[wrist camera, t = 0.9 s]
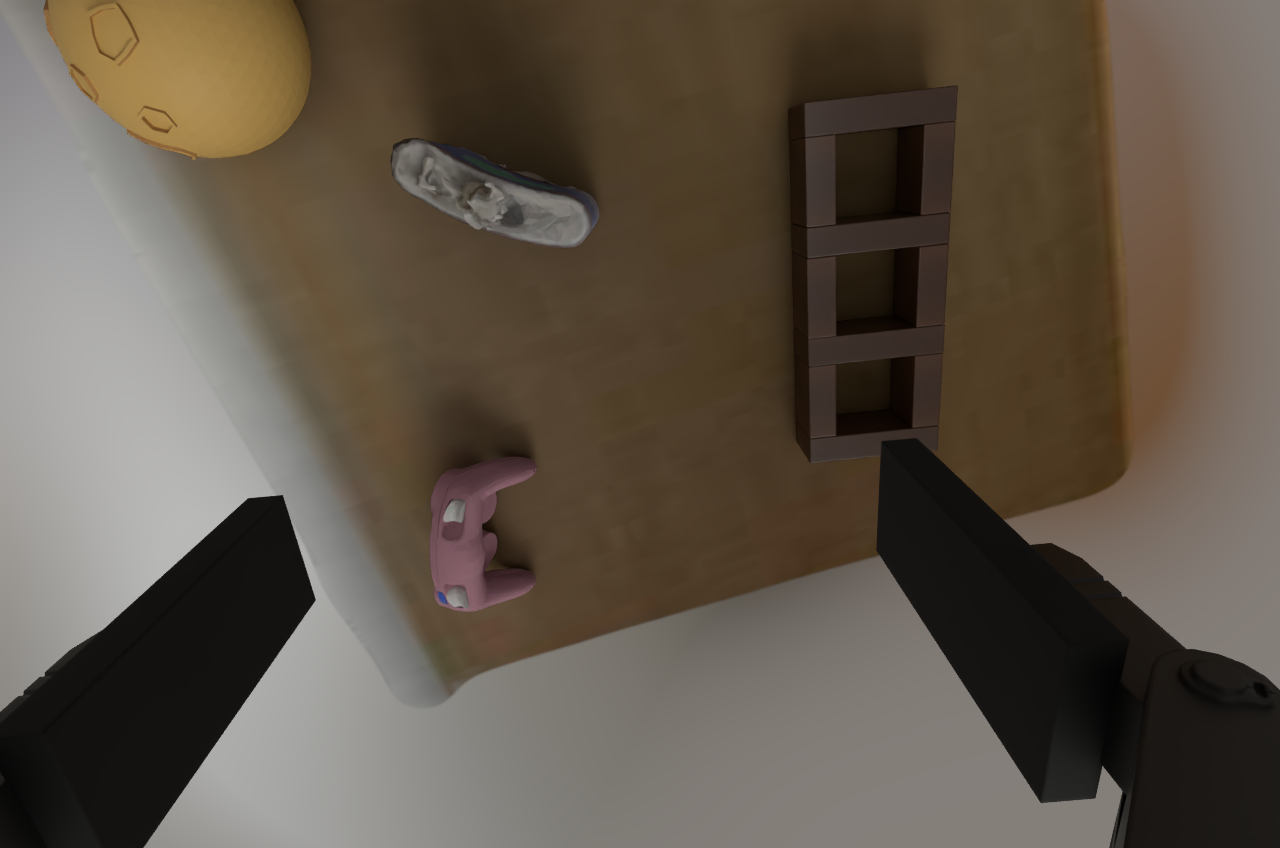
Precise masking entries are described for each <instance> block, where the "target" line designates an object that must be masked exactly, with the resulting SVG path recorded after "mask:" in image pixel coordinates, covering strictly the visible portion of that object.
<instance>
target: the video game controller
mask: <svg viewBox="0 0 1280 848" xmlns="http://www.w3.org/2000/svg"><path fill="white" fill-rule="evenodd" d="M536 470H537V465H536V463H535V462H534V461H532V460H531V459H528V458H526V457H503V458H495V459H491V460H486V461H483V462H480V463H477V464H474V465H472V466H469V467H466V468H463V469H457V468H453V469H450V470H448V471H446V472H445V473H444V474H443V475H442V476H441V477H440V478H439V480H438V481H437V483H436V485H435V488H434V490H433V493H432V497H431V511H432V515H433V519H432V525H431V534H430V563H431V572H432V577H433V582H434V585H435V586H434V595H435V599H436V601H437V603H438V604H439V605H441V606H444V607H448V608H451V609H453V610H457V611H477V610H480V609H483V608H486V607H489V606H492V605H495V604H498V603H501V602H504V601H507V600H510V599H513V598H516V597H519V596H521V595H524V594H525V593H527V592H528V591H529V590H531V589H532V588H533V587H534V585H535V582H536V577H535V575H534V574H533V573H531V572H530V571H527V570H524V569H516V568H509V569H499V570H492V571H487V572H485V569H486V567H487V566H488V564H489V563H490V561H491V560H492V558H493V557H494V555H495V553H496V550H497V537H496V535H495V534H494V533H491V532H488V531H485V530H482V524H483V523H485V522H487V521H488V520H489V519H490V518H491V517H492V515H493V514H494V511H495V508H496V502H497V497H496V493H495V492H496V491H498V490H500V489H503V488H505V487H508V486H511V485H514V484H517V483H520V482H523V481H525V480H527V479H528V478H530V477H531V476H532V475H533V474H534V473H535V472H536Z"/></svg>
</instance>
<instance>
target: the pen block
mask: <svg viewBox="0 0 1280 848" xmlns="http://www.w3.org/2000/svg"><path fill="white" fill-rule="evenodd" d="M957 91H958V86H948V87H939V88H930V89H921V90H912V91H903V92H894V93H885V94H876V95H867V96H858V97H849V98H840V99H831V100H822V101H813V102H805V103H802V104H800V105H797V106H794V107H792V108H789V109H788V114H789V140H790V141H789V152H790V194H791V223H792V224H791V232H792V251H793V252H792V278H793V320H794V352H795V353H794V358H795V400H796V441H797V443H798V444H799V446H800V448H801V449H802V451H803V452H804V454H805V455H806V457H807V459H808V460H809V462H810V463H817V462H827V461H837V460H847V459H856V458H866V457H876V456H881V441H888V440H899V439H910V438H917V439H918V440H919V441H920V442H922V443H923V444H924V445H925V446H926V447H927V448H928V449H929V450H930V451H934V450H937V449H938V431H939V426H938V425H939V412H940V394H941V376H942V358H943V354H942V353H943V346H944V327H945V325H943V324H944V321H945V303H946V285H947V267H948V249H949V245H948V244H947V243H949V230H950V213H949V212H950V211H951V195H952V177H953V159H954V141H955V120H956V109H957ZM896 128H899V130H898V165H897V201H896V211H897V212H890V213H881V214H872V215H862V216H853V217H844V218H836V135H842V134H851V133H860V132H869V131H878V130H887V129H896ZM891 249H895V274H894V309H893V314H894V315H893V316H884V317H874V318H865V319H856V320H846V321H837V322H836V256H835V255H844V254H854V253H863V252H872V251H881V250H891ZM887 358H892V381H891V409H889V410H880V411H870V412H860V413H851V414H841V415H836V364H839V363H848V362H858V361H867V360H877V359H887Z"/></svg>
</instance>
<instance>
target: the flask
mask: <svg viewBox="0 0 1280 848" xmlns="http://www.w3.org/2000/svg"><path fill="white" fill-rule="evenodd" d="M391 169H392V175H393V177H394V179H395V181H396V182H397V183H398V184H399V185H400V186H401V187H402V188H403V190H405V191H406V192H408V193H410V194H411V195H413V196H414V197H416V198H418V199H421V200H422V201H423V202H425V203H426V204H429V205H431V206H433V207H435V208H436V209H438V210H440V211H442V212H443V213H445V214H447V215H448V216H450V217H452V218H455V219H457V220H459V221H461V222H463V223H466V224H469V225H471V226H472V227H474V228H475V229H483V230H485V231H488V232H491V233H494V234H497V235H500V236H503V237H506V238H511V239H515V240H518V241H523V242H527V243H532V244H537V245H543V246H549V247H555V248H561V249H562V248H572V247H576V246H578V245H580V244H582V243H583V241H584V240H585V239H586V238H587V236H588V235H589V233H590V231H591V230H592V229H593V228H594V226H595V225H596V223H597V220H598V218H599V208H598V206H597V203H596V201H595V200H594V198H593V197H592V196H591V195H589V194H588V193H586V192H584V191H581V190H577V189H576V188H575V187H571V186H568V187H561V186H559V185H556V184H554V183H553V184H552V183H551V182H550V181H546V178H544V177H540V176H538V175H537V174H536V173H530V172H528V171H525V172H524V171H523V172H520V171H519V172H513V171H511V170H510V169H507V166H506V163H505V164H494V163H492V162H490V161H489V160H488V159H487V158H485V155H484V156H481V155H479V154H477V153H476V152H474V151H471V150H467V149H466V148H464V147H453V146H451V145H448V144H438V143H435V142H431V141H426V140H424V139H419V138H410V139H404V140H402V141H401V142H399V143H396V144H394V145H393V153H392V156H391Z"/></svg>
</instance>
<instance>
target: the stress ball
mask: <svg viewBox="0 0 1280 848" xmlns="http://www.w3.org/2000/svg"><path fill="white" fill-rule="evenodd" d="M44 14H45V19H46V25H47V30H48V32H49V34H50V36H51V37H52V39H53V41H54V43H55V44H56V45H57V46H58V48H59V50H60V52H61V55H62V57H63V59H64V61H65V63H66V64H67V66H68V68H69V74H70V75H71V77H72V78H73V80H74V81H75V83H76V84H77V86H78V87H79V89H80V90H81V91H82V92H83V93H84V94H85V95H86V96H87V97H88V98H89V99H91V100H92V101H93V102H94V103H96V104H97V105H98V106H99V107H100V108H101V109H102V110H103V111H104V112H105V113H106V114H108V115H109V116H110V117H111V118H112V119H113V120H115V121H116V122H118V123H119V124H120V125H122V126H123V127H125V128H126V129H127V133H128V134H129V135H131V136H133V137H135V138H137V139H139V140H141V141H142V142H144V143H147V144H149V145H152V146H155V147H158V148H161V149H164V150H168V151H173V152H178V153H181V154H184V155H187V156H190V157H191V159H194V160H196V157H205V158H225V157H234V156H240V155H245V154H248V153H251V152H254V151H257V150H259V149H261V148H263V147H265V146H267V145H269V144H271V143H272V142H274V141H275V140H277V139H278V138H279V137H281V136H282V135H283V134H284V133H285V132H286V131H287V130H288V129H289V128H290V127H291V125H292V124H293V123H294V122H295V120H296V119H297V117H298V116H299V114H300V112H301V110H302V108H303V106H304V103H305V101H306V98H307V95H308V91H309V86H310V80H311V54H310V47H309V41H308V37H307V34H306V30H305V27H304V23H303V21H302V19H301V16H300V14H299V11H298V9H297V7H296V5H295V3H294V1H293V0H46V3H45V6H44Z"/></svg>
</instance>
